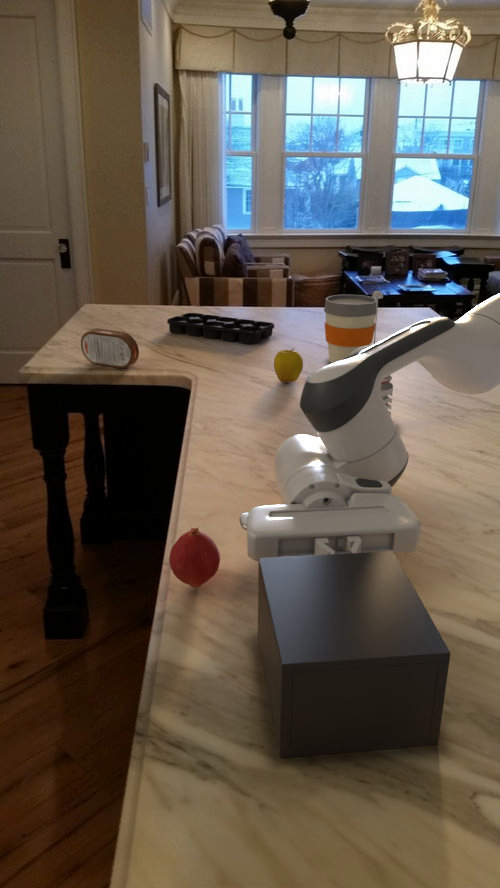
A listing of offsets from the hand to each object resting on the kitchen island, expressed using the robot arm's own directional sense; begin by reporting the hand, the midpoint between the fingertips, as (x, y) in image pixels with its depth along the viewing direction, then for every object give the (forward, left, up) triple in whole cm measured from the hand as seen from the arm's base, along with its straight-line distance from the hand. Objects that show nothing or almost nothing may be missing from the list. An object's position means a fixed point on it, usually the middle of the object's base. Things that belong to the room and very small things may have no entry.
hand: (346, 567), depth 75 cm
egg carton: (+5, -129, -6) cm, 129 cm away
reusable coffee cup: (-24, -99, -6) cm, 102 cm away
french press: (-17, -55, -6) cm, 58 cm away
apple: (-7, -84, -6) cm, 84 cm away
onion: (+16, -7, -6) cm, 19 cm away
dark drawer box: (+3, +11, -6) cm, 13 cm away
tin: (+33, -101, -6) cm, 106 cm away
